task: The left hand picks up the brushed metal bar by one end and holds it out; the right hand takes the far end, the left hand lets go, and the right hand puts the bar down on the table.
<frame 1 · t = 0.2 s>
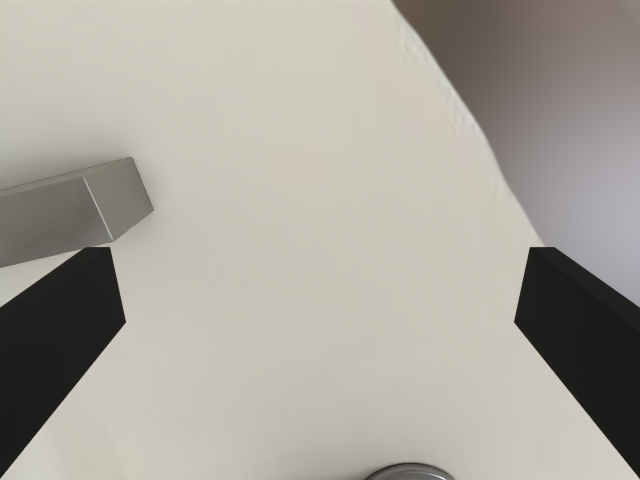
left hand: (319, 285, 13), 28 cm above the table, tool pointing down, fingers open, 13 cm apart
bar: (32, 211, 41), on the table
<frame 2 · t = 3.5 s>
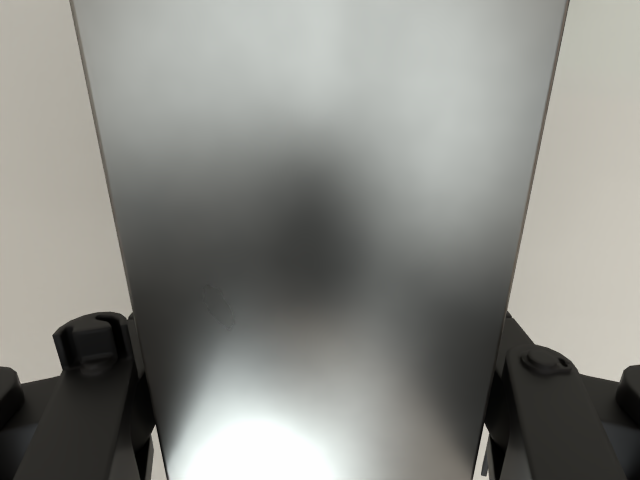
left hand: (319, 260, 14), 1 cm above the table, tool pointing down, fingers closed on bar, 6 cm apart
bar: (319, 16, 12), on the table, touching left hand
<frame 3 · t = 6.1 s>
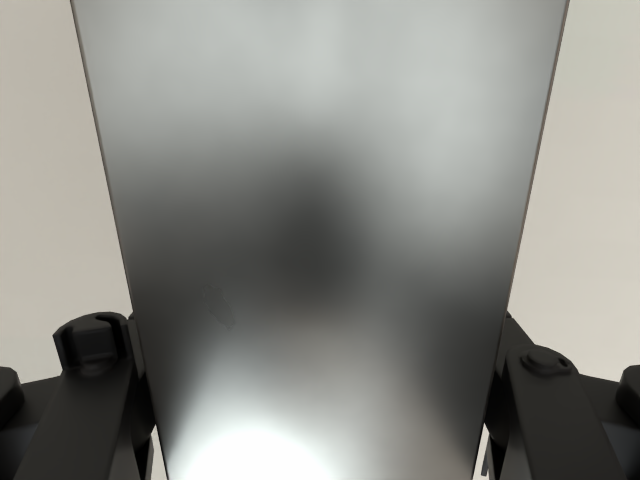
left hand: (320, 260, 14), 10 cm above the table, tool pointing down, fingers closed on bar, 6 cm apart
bar: (319, 16, 12), point 10 cm above the table, touching left hand
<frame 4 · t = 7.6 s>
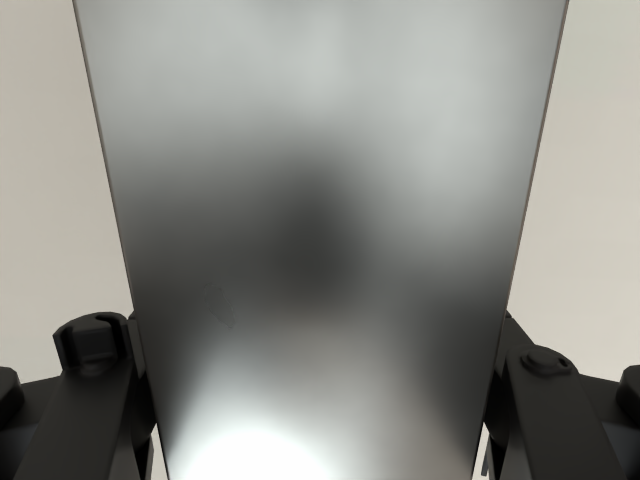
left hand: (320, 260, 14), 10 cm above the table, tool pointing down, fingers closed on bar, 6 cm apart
bar: (320, 16, 12), point 9 cm above the table, touching left hand, right hand
when the left hand's fingers open (10 cm above the table, at t = 8.6 s): bar stays where it is, held by the right hand.
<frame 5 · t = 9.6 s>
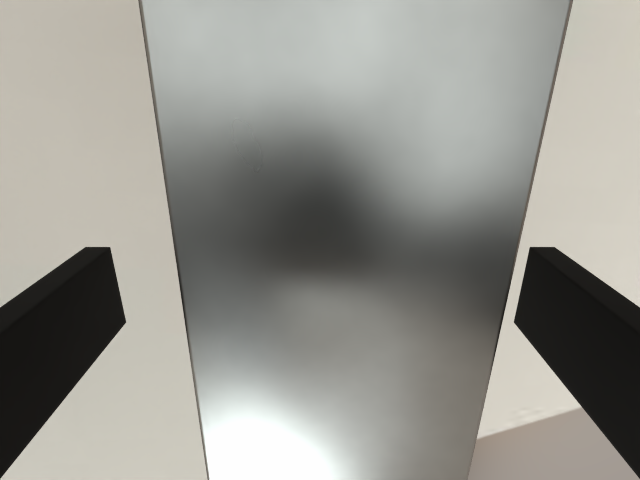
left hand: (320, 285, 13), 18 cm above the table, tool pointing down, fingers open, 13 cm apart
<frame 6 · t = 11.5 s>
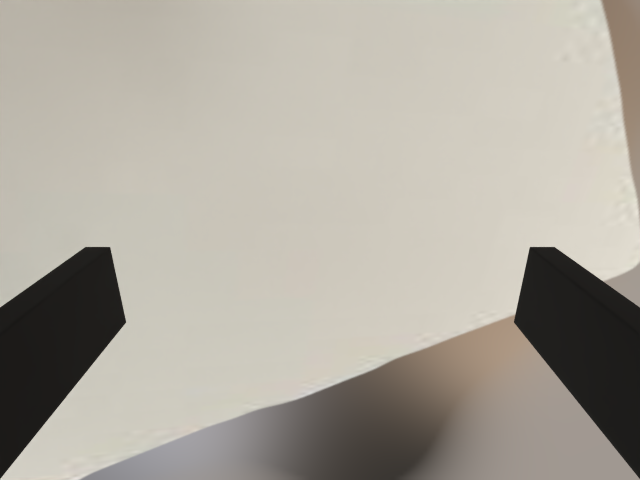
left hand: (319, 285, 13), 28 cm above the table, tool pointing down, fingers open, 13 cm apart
when the right hand's fingers open (6 cm above the table, at t = 15.2 s): bar drops 1 cm, on the table.
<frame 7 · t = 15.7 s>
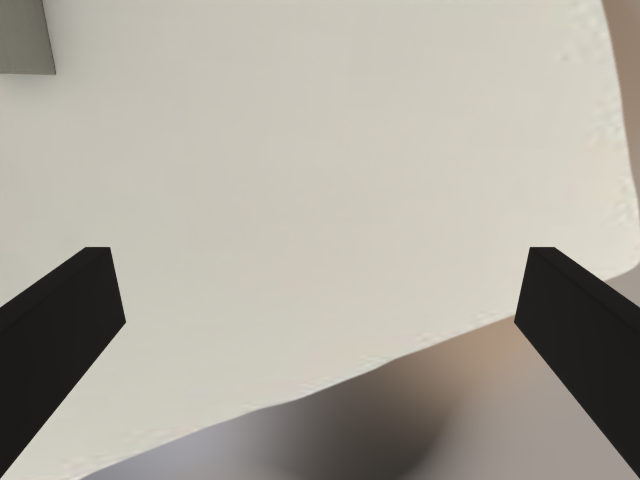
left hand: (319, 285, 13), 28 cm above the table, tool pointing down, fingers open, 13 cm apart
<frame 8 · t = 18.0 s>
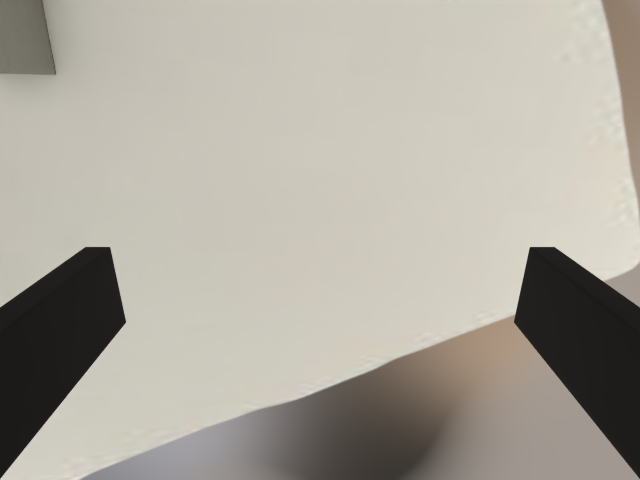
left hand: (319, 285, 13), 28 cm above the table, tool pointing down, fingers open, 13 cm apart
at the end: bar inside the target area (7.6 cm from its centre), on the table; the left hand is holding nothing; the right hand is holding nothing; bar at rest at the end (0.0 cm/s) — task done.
